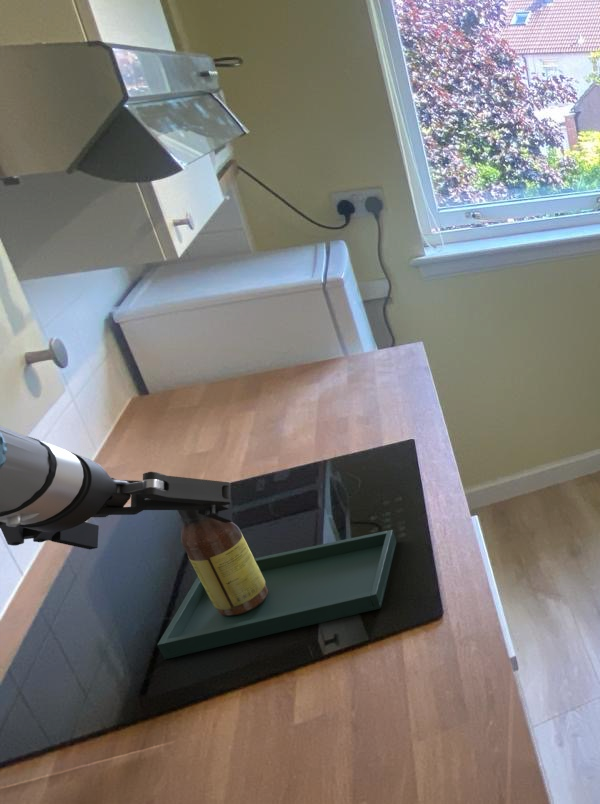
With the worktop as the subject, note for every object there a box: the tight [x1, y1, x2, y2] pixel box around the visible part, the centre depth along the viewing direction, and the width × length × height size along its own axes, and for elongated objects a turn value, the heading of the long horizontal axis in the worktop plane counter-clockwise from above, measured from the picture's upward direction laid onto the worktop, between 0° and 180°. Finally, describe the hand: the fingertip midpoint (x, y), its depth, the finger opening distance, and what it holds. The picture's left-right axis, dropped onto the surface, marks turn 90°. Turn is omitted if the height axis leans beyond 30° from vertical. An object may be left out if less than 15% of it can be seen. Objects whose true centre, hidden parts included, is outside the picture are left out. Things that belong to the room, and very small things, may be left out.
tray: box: [157, 529, 397, 660], centre depth 106 cm, size 26×16×3 cm, turn 109°
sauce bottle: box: [177, 510, 268, 616], centre depth 100 cm, size 6×6×20 cm
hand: (163, 524), depth 89 cm, fingers open, 13 cm apart
